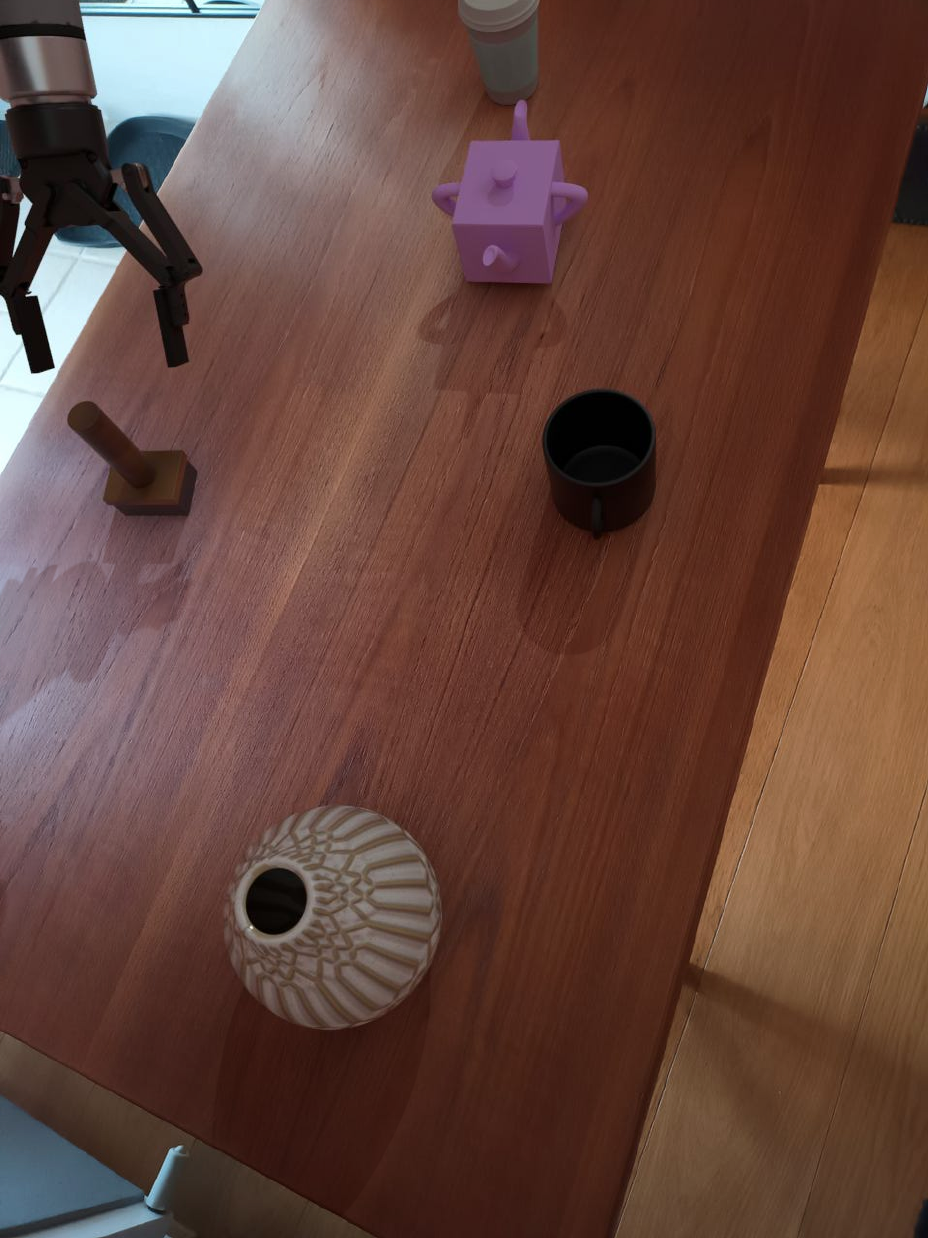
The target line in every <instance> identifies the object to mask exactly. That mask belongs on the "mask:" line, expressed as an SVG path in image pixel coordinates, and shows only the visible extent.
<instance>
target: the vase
mask: <svg viewBox="0 0 928 1238" xmlns="http://www.w3.org/2000/svg"><path fill="white" fill-rule="evenodd" d="M222 908H223V910H222V931H223V938H224V943H225V947H226V951H227V954H228V955H227V956H228V958H229V960H230V963H231V965H232V967H233V969H234V971H235V973H236V975H237V976H238V978H239V980H240V981H241V983H242V984H243V986H244V987H245V989H246V990H247V991H248V992H249V993H250V995H252V997H253V998H255V1000H256V1001H258V1003H260V1004H261V1005H262V1006H263V1007H264V1008H266V1009H267V1010H268V1011H270V1012H271V1013H273V1014H274V1015H275V1016H277V1017H279V1018H281V1019H283V1020H284V1021H287V1022H289V1023H290V1024H291V1023H292V1024H293V1025H296V1026H300V1027H303V1028H304V1027H305V1028H308V1029H313V1030H319V1031H339V1030H346V1029H352V1028H356V1027H359V1026H363V1025H365V1024H368V1023H370V1022H374V1021H375V1020H377V1019H380V1018H381V1017H383V1016H385V1015H386V1014H388V1013H390V1012H391V1011H393V1010H394V1009H395V1008H397V1007H398V1006H399V1005H400V1004H402V1003H403V1002H404V1001H405V1000H406V999H407V998H408V997H409V996H410V995H411V994H412V993H413V992H414V990H415V989H416V988H417V987H418V985H420V983H421V982H422V980H423V978H424V977H425V975H426V974H427V972H428V970H429V968H430V967H431V965H432V963H433V960H434V958H435V956H436V953H437V950H438V946H439V944H440V939H441V935H442V928H443V901H442V893H441V889H440V884H439V880H438V878H437V874H436V872H435V870H434V867H433V864H432V863H431V861H430V859H429V858H428V856H427V854H426V852H425V851H424V849H423V848H422V847H421V845H420V844H419V842H417V841H416V839H415V838H414V837H413V836H412V835H411V834H410V832H409V831H407V830H406V829H405V828H404V827H403V826H401V825H399V824H398V823H397V822H395V821H394V820H393V819H391V818H389V817H388V816H386V815H384V814H382V813H380V812H377V811H374V810H371V809H368V808H364V807H360V806H355V805H346V804H333V805H323V806H316V807H311V808H308V809H305V810H302V811H299V812H296V813H294V814H292V815H289V816H287V817H286V818H284V819H282V820H280V821H278V822H276V823H275V824H273V825H272V826H270V827H269V828H268V829H267V830H265V831H264V832H263V833H262V834H260V835H259V836H258V837H257V838H256V839H255V840H254V841H253V842H252V844H250V846H249V847H248V848H247V849H246V851H245V852H244V853H243V855H242V857H241V858H240V859H239V861H238V863H237V864H236V866H235V868H234V870H233V873H232V875H231V877H230V880H229V882H228V885H227V888H226V892H225V897H224V902H223V907H222Z"/></svg>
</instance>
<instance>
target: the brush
mask: <svg viewBox="0 0 928 1238" xmlns="http://www.w3.org/2000/svg"><path fill="white" fill-rule="evenodd" d="M66 421H67V425H68V426H69V428H70V429H71V430H72V431H73V432H74V433H75V434H76V435H78V437H79V438H81V439H82V441H84V442H85V443H86V445H88V446H89V447H90V448H91V450H92V451H94V452H95V453H96V454H97V455H98V456H99V457H100V458H101V459H103V460H104V461H105V462H106V463H107V465H109V466H110V467H109V471H108V476H107V479H106V485H105V488H104V493H103V497H102V501H103V502H104V503H106V505H108V506H113V507H115V508H116V509H117V510H118V511H119V512H120V513H121V514H123V515H124V516H126V517H141V516H146V517H149V516H151V517H152V516H154V517H155V516H159V517H161V516H189V515H190V511H191V506H192V500H193V496H194V491H195V486H196V480H197V476H198V469H196V468H195V467H194V465H193V464H192V463H190V461H189V460H188V458H189V457H188V456H189V455H187V453H186V452H185V451H184V450H183V449H170V450H169V449H167V450H141V449H140V448H139V447H138V446H137V445H136V444H135V443H134V442H133V441H132V440H131V439H130V438H129V437H128V436H127V435H126V433H124V431H123V430H121V428H120V427H119V426H118V425H117V424H116V422H114V421H113V420H112V419H111V418H110V417H109V416H108V415H107V413H105V412H104V411H103V410H102V409H101V407H100V406H99V405H98V404H96V402H94V401H90V400H84V401H83V400H82V401H80V402H78V403H76V404H74V405H73V406H72V408H71V409H70V410H69V412H68V414H67V417H66Z"/></svg>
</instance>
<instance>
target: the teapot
mask: <svg viewBox="0 0 928 1238" xmlns="http://www.w3.org/2000/svg"><path fill="white" fill-rule="evenodd" d="M512 119H513V120H512V129H511V135H510V140H471V141H470V142H469V143H470V144H469V148H468V153H467V157H466V161H465V164H464V168H463V173H462V178H461V180H460V181H455V182H454V181H453V182H447V183H442V184H439V185H437V186H435V187H434V188H433V190H432V192H431V200H432V202H433V203H434V205H435V206H436V207H437V208H438V209H440V210H441V211H442V212H443V213H445V214H447V215H448V216H450V217H451V218H452V222H451V230H452V232H453V237H454V240H455V244H456V248H457V251H458V256H459V259H460V263H461V267H462V272H463V273H464V274H463V275H464V278H465V281H466V282H477V283H479V282H481V283H512V284H514V283H515V284H518V283H519V284H549V285H551V284H552V280H553V276H554V271H555V265H556V260H557V255H558V249H559V243H560V238H561V233H562V227H563V223H565V222H567V221H568V220H570V219H571V218H573V217H574V216H576V215H577V214H579V212H581V211H582V210H583V209H584V207H585V205H586V204H587V202H588V199H589V193H588V191H587V189H586V188H585V187H583V186H581V185H579V184H574V183H569V182H565V178H564V176H565V175H564V170H563V169H564V168H563V167H564V166H563V159H562V151H561V150H562V149H561V142H560V139H556V140H555V139H553V140H551V139H550V140H531V137H530V133H529V128H528V105H527V101H526V100H520V101H519V102H518V103H517V104H515V106H514V111H513V117H512ZM453 197H457V199H456V201H455V200H454V199H453ZM567 199H568V201H567Z"/></svg>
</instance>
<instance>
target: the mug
mask: <svg viewBox="0 0 928 1238" xmlns="http://www.w3.org/2000/svg"><path fill="white" fill-rule="evenodd" d="M656 431H657V430H656V425H655V422H654V419H653V417H652V415H651V413H650V412H649V410H648V408H647V407H646V406H645V405H644V404H643V403H642V402H641V401H639V400H638V399H637V398H636V397H634V396H633V395H630V394H628V393H626V392H624V391H621V390H617V389H613V388H612V389H611V388H594V389H587V390H583V391H580V392H578V393H575V394H572V395H571V396H570V397H567V399H565V400H563V401H562V402H561V403H560V404H559V405H557V406H556V407H555V409H554V410H553V411H552V412H551V413H550V415H549V416H548V418H547V420H546V422H545V424H544V428H543V431H542V435H541V436H542V437H541V447H542V453H543V457H544V462H545V467H546V472H547V476H548V481H549V487H550V492H551V497H552V500H553V503H554V506H555V507H556V510H557V511H558V513H560V515H561V517H563V518H564V519H565V520H566V521H567V522H568V523H569V524H572V525H573V526H575V527H577V528H579V529H581V530H585V531H588V532H591V536H592V538H593V540H594V541H600V540H601V539H602V538H603V536H604V533H609V532H614V531H619V530H621V529H623V528H626V527H628V526H630V525H632V524H633V523H635V522H636V521H637V520H638V519H640V518H641V517H642V516H643V515H644V514H645V513H646V512H647V511H648V508H649V507H650V506H651V503H652V502H653V499H654V496H655V493H656V487H657V485H656V484H657V483H656V482H657V481H656V479H657V478H656V477H657V476H656V475H657V471H656V470H657V432H656Z"/></svg>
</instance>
